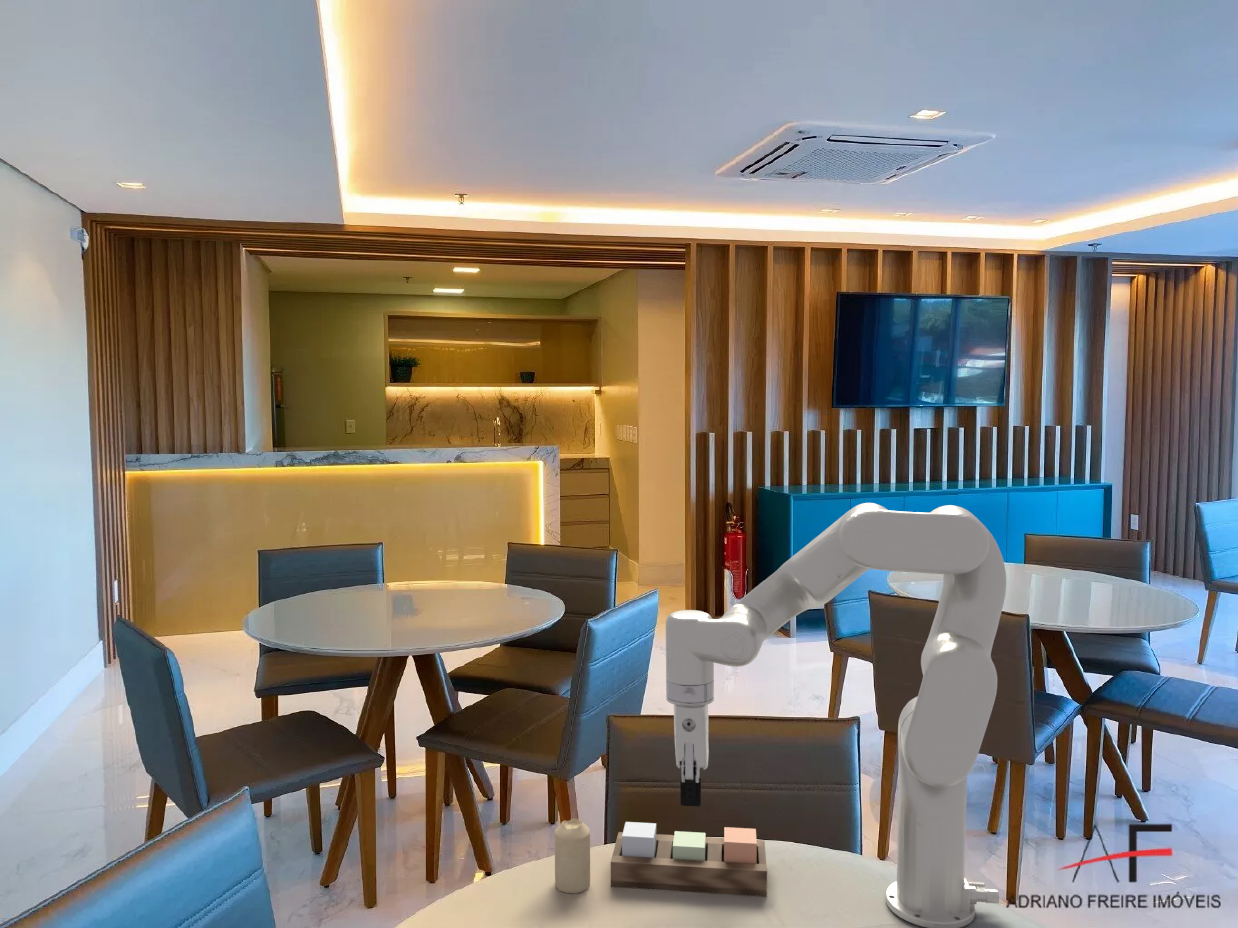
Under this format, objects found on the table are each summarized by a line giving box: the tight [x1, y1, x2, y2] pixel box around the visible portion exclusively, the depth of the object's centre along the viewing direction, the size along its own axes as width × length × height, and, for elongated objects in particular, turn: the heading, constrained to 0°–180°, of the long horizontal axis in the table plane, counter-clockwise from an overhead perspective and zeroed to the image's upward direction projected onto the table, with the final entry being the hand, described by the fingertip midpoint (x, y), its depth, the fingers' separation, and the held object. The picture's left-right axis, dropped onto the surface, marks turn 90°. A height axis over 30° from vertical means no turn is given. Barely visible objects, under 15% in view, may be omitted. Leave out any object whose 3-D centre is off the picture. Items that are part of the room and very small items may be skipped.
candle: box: [554, 817, 591, 894], centre depth 140 cm, size 6×6×10 cm
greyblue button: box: [622, 821, 657, 858], centre depth 144 cm, size 5×5×4 cm
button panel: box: [610, 831, 768, 898], centre depth 143 cm, size 24×10×4 cm, turn 83°
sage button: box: [673, 830, 707, 861], centre depth 143 cm, size 5×5×4 cm
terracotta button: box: [723, 826, 757, 864], centre depth 142 cm, size 5×5×4 cm
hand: (690, 803), depth 143 cm, fingers closed
